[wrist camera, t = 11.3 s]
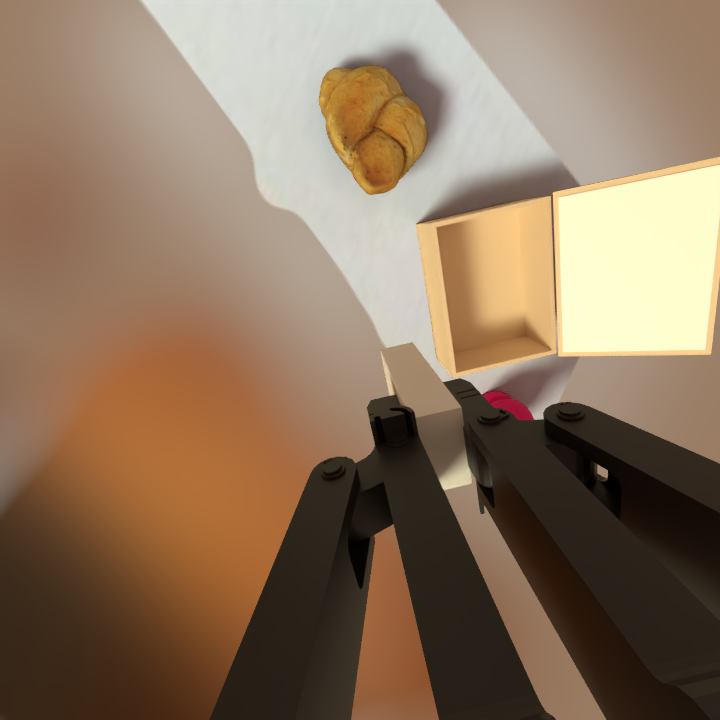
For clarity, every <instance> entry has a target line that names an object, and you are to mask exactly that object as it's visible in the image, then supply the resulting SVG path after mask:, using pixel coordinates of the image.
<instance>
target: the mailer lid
mask: <svg viewBox="0 0 720 720" xmlns="http://www.w3.org/2000/svg"><path fill="white" fill-rule="evenodd" d="M553 212H554V241H555V269H556V298H557V327H558V356H630V355H631V356H633V355H700V354H704V355H709V354H711V348H712V340H713V331H714V322H715V313H716V305H717V296H718V286H719V278H720V157H717V158H712V159H708V160H703V161H698V162H693V163H689V164H684V165H679V166H674V167H670V168H665V169H660V170H655V171H651V172H646V173H642V174H637V175H632V176H627V177H623V178H618V179H613V180H608V181H603V182H599V183H594V184H590V185H585V186H580V187H575V188H570V189H566V190H561V191H556V192H553Z"/></svg>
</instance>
